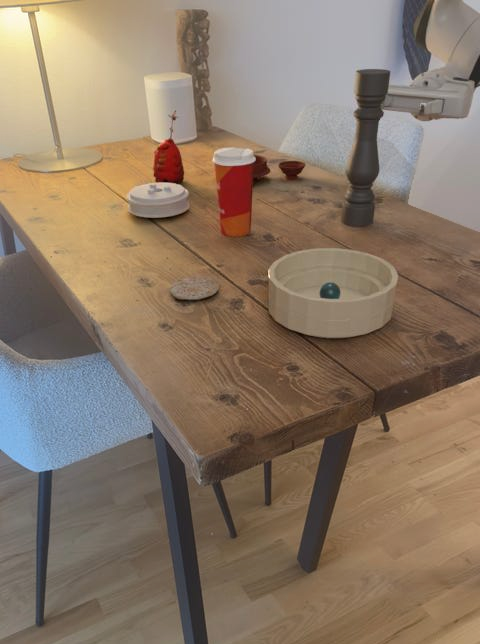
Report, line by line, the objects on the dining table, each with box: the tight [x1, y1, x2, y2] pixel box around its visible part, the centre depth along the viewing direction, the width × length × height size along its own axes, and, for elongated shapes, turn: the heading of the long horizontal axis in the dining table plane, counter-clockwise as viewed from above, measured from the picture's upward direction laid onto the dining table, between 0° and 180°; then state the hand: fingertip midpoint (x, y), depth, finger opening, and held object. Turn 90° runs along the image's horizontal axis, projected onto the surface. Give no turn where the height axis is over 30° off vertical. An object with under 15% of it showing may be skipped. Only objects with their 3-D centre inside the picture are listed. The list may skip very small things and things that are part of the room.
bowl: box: [267, 247, 399, 339], centre depth 80 cm, size 18×18×6 cm
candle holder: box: [340, 68, 391, 228], centre depth 102 cm, size 6×6×25 cm
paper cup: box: [211, 146, 256, 237], centre depth 103 cm, size 8×8×14 cm
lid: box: [125, 182, 191, 219], centre depth 115 cm, size 13×13×5 cm
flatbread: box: [169, 275, 220, 301], centre depth 87 cm, size 8×8×1 cm
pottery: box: [253, 154, 307, 183], centre depth 132 cm, size 12×20×4 cm, turn 94°
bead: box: [319, 282, 341, 299], centre depth 81 cm, size 3×3×3 cm
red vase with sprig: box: [152, 110, 185, 184], centre depth 129 cm, size 8×7×15 cm
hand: (399, 106), depth 107 cm, fingers open, 8 cm apart
